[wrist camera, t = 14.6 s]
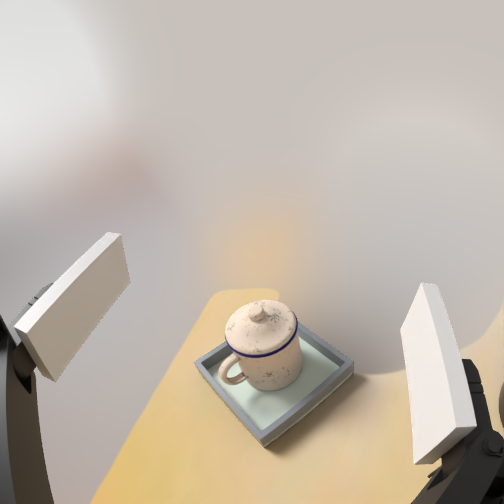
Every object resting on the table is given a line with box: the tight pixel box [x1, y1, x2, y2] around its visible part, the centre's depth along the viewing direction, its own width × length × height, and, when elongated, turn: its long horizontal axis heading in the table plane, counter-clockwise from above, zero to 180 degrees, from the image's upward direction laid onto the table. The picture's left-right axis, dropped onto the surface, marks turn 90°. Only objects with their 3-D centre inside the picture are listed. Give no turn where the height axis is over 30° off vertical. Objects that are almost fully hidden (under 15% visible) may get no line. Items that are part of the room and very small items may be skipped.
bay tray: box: [194, 321, 354, 448], centre depth 42 cm, size 16×16×3 cm
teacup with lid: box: [218, 300, 303, 391], centre depth 40 cm, size 12×9×12 cm
